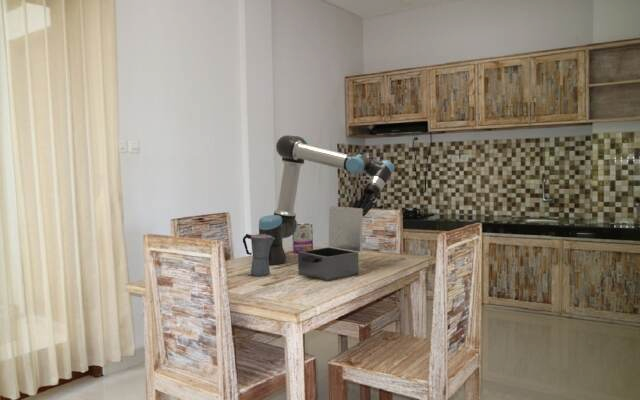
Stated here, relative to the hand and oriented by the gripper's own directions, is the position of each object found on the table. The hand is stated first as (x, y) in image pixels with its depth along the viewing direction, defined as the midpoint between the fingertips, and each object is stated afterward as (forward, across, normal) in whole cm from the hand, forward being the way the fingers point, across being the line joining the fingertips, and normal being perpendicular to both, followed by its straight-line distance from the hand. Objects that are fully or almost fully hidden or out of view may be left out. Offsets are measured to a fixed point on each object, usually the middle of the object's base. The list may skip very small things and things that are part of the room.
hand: (349, 226), depth 224 cm
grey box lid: (+2, +1, +1) cm, 3 cm away
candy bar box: (+4, +56, -26) cm, 61 cm away
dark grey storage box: (+24, +1, -4) cm, 25 cm away
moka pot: (+39, +23, +10) cm, 46 cm away
